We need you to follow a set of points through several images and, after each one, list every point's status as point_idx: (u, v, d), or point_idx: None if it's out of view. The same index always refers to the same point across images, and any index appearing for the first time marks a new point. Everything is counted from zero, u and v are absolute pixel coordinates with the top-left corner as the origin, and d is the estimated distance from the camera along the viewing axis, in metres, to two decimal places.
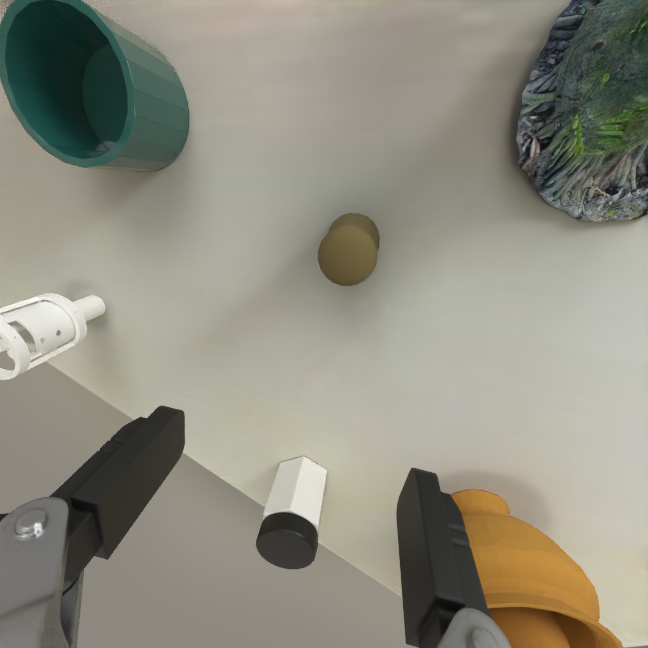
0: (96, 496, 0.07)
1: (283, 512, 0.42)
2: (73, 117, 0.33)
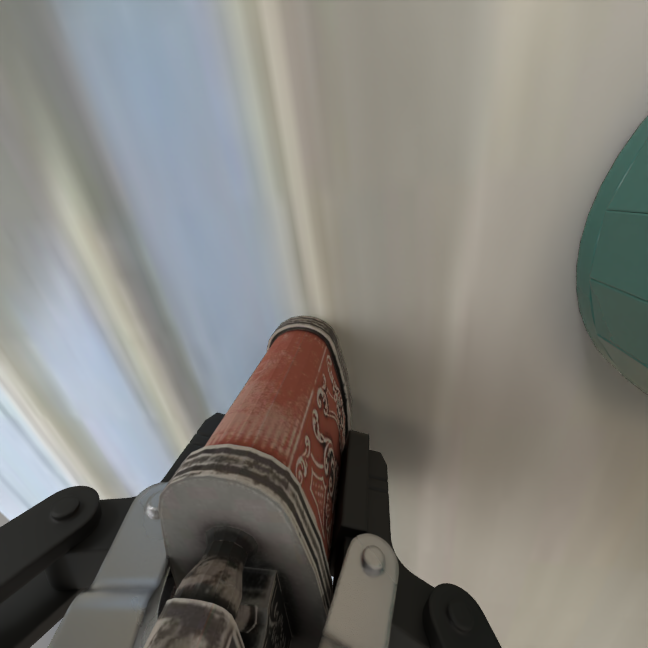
0: None
1: None
2: None
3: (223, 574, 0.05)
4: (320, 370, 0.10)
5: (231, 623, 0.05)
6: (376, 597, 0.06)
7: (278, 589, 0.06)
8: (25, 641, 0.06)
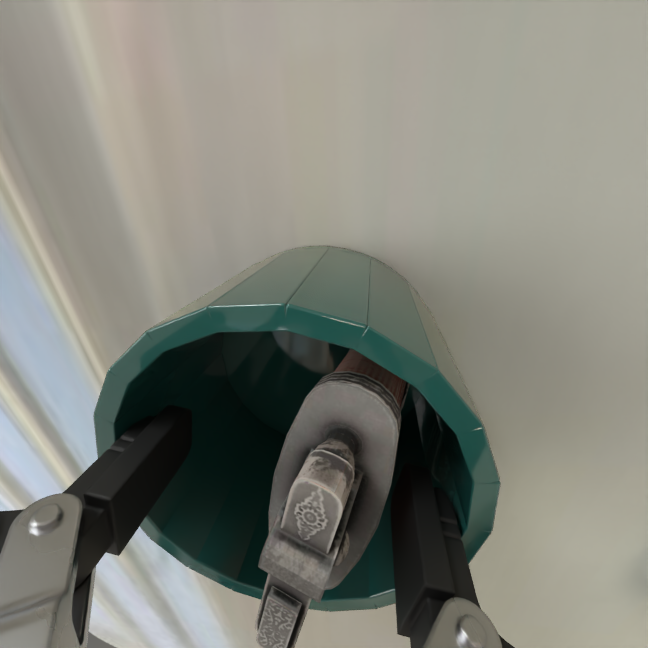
0: (108, 493, 0.08)
1: None
2: None
3: (348, 451, 0.08)
4: None
5: None
6: None
7: None
8: None
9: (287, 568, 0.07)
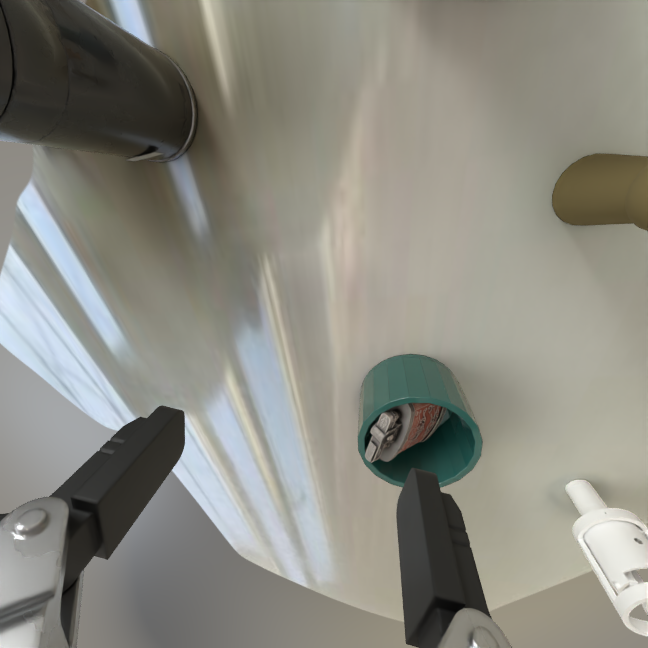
0: (96, 496, 0.07)
1: None
2: (416, 445, 0.39)
3: (396, 414, 0.31)
4: None
5: (394, 420, 0.31)
6: None
7: (399, 427, 0.32)
8: None
9: (376, 432, 0.31)
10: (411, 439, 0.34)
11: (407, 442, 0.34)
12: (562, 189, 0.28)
